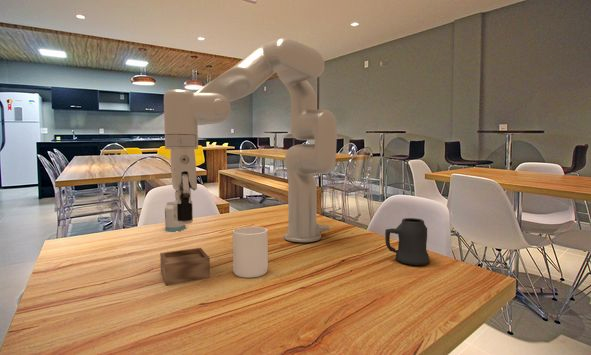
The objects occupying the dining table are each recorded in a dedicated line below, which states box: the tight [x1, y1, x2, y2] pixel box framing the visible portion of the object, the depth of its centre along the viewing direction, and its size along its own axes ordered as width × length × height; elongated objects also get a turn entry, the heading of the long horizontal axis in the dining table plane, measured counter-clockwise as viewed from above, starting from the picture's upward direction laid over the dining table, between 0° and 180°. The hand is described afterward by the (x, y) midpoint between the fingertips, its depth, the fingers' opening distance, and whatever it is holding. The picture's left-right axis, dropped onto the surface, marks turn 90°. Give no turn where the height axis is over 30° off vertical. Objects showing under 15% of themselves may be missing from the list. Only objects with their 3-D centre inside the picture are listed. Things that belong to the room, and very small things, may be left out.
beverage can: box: [164, 201, 186, 233], centre depth 123 cm, size 7×7×12 cm
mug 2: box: [384, 217, 430, 266], centre depth 93 cm, size 12×9×11 cm
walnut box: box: [159, 247, 211, 286], centre depth 82 cm, size 10×10×5 cm
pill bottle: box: [173, 191, 194, 226], centre depth 81 cm, size 4×4×8 cm
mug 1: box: [232, 226, 269, 279], centre depth 85 cm, size 9×12×11 cm
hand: (183, 217), depth 81 cm, fingers closed on pill bottle, 4 cm apart
